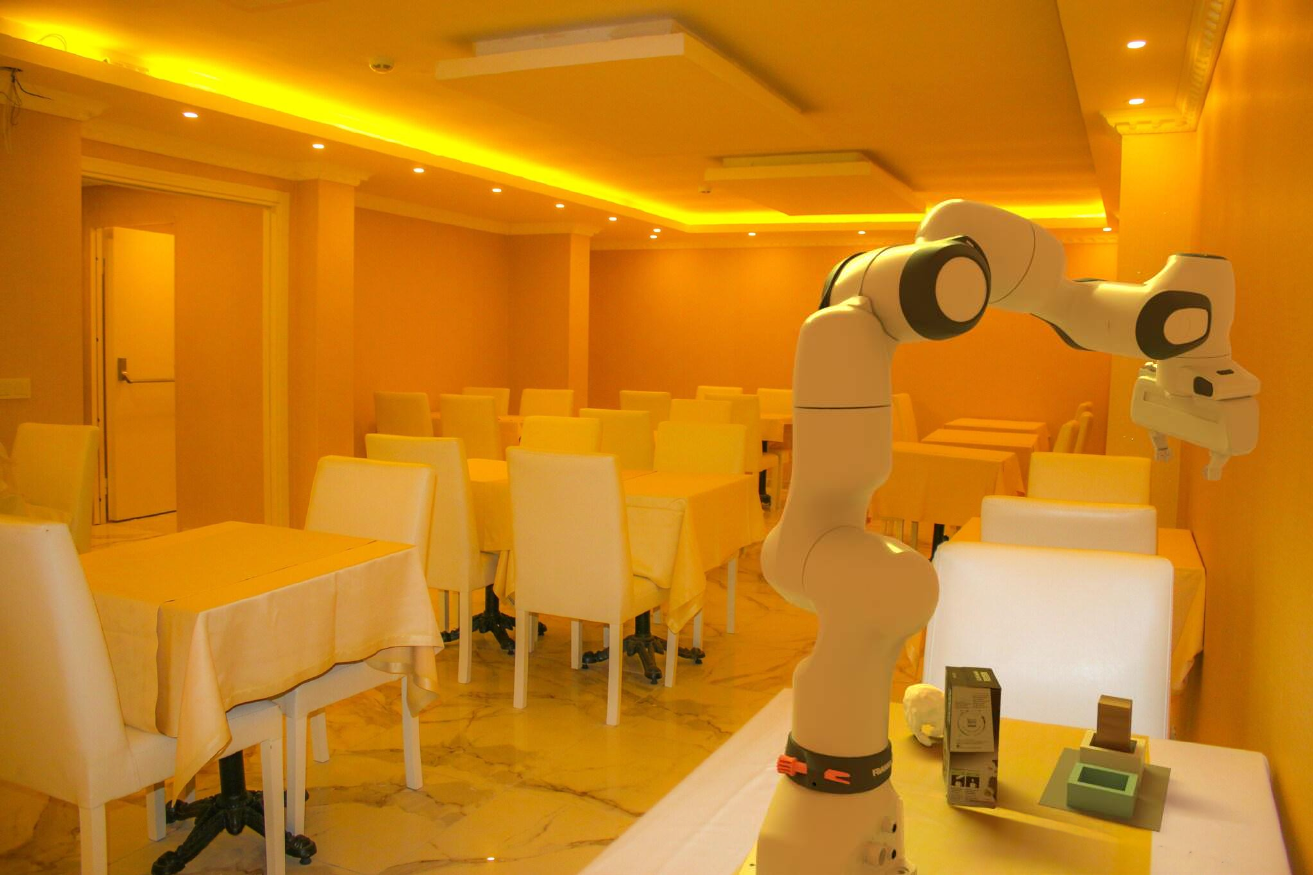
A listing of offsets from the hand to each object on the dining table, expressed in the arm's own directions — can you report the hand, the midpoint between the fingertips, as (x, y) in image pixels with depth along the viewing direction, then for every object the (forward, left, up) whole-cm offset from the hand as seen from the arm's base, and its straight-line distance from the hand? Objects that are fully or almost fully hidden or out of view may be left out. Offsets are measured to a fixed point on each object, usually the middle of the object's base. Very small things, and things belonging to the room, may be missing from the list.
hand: (1186, 469), depth 137 cm
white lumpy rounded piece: (-6, +31, -44) cm, 54 cm away
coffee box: (-23, +23, -44) cm, 54 cm away
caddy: (-13, +7, -43) cm, 46 cm away
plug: (-7, +7, -42) cm, 43 cm away
